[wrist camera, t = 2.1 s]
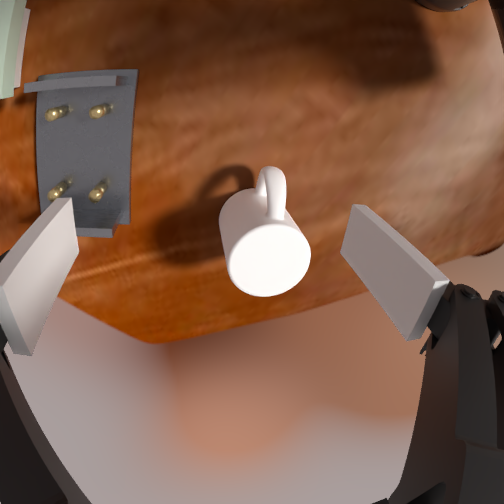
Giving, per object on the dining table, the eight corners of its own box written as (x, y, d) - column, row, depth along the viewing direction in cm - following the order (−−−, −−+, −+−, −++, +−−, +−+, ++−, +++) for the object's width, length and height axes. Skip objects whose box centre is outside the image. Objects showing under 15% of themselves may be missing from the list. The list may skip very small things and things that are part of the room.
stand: (8, 15, 19) (-13, 11, 15) (30, 9, 20) (10, 3, 15) (-2, 90, 24) (-24, 94, 19) (19, 86, 25) (-2, 90, 20)
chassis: (42, 75, 25) (17, 77, 20) (139, 69, 27) (128, 66, 22) (45, 217, 33) (26, 240, 28) (130, 220, 36) (121, 244, 31)
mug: (221, 295, 31) (243, 179, 26) (214, 245, 40) (229, 152, 34) (298, 299, 33) (332, 193, 28) (276, 250, 42) (298, 163, 36)
